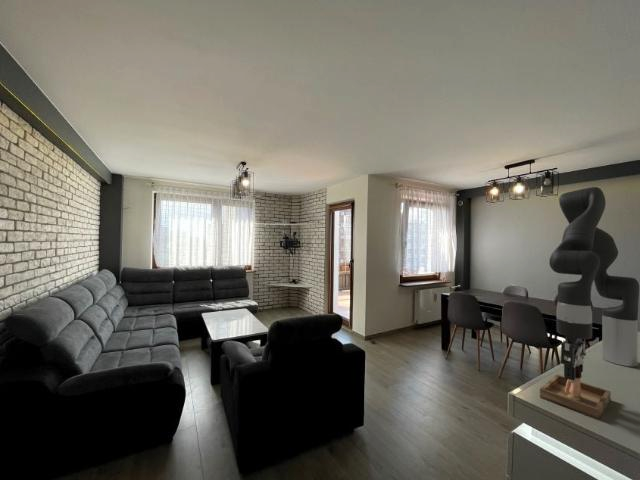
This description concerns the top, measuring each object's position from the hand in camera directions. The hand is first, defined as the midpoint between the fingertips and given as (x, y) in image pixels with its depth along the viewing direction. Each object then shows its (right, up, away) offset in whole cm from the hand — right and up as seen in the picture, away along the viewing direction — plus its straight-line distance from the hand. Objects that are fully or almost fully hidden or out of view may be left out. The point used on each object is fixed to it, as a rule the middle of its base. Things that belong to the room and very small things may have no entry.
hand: (573, 375), depth 77 cm
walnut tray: (+1, -7, 0) cm, 7 cm away
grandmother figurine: (0, -7, 0) cm, 7 cm away
